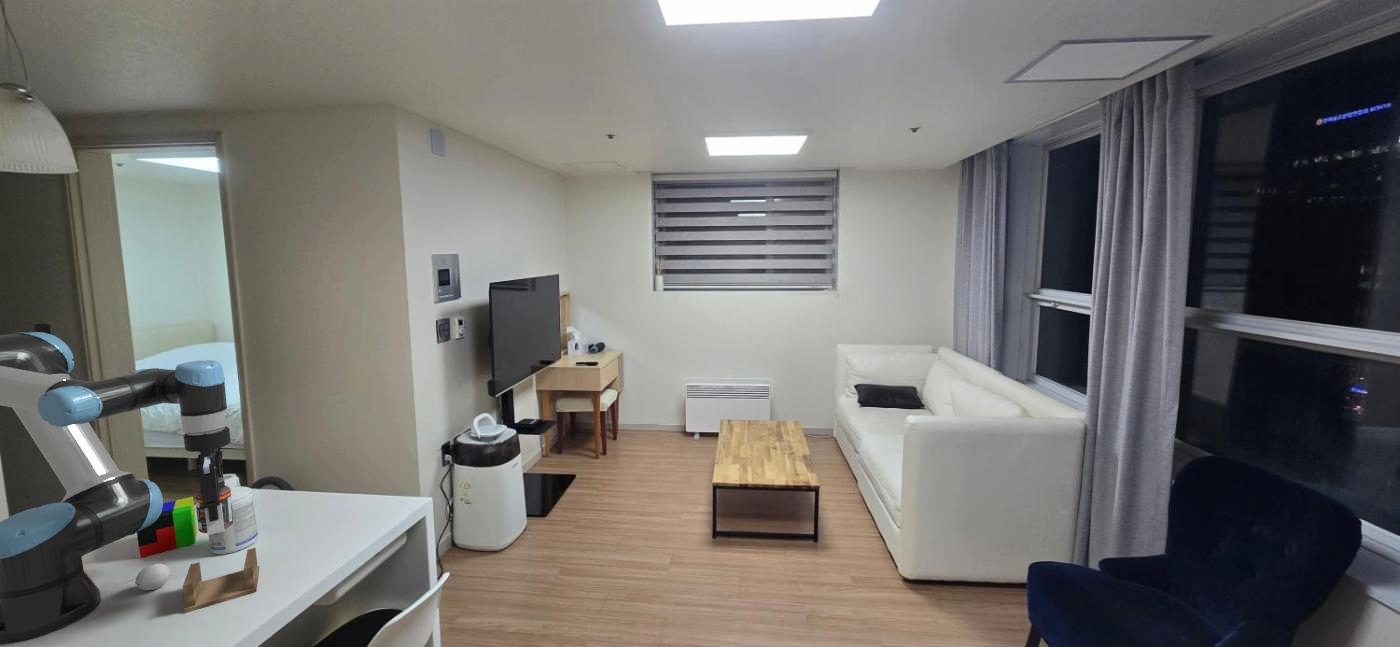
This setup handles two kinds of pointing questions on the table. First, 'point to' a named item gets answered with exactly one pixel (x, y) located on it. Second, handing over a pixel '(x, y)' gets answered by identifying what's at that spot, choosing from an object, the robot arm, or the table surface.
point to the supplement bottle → (226, 507)
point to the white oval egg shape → (152, 577)
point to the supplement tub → (237, 524)
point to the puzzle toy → (169, 529)
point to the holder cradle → (220, 584)
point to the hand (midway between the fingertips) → (217, 526)
